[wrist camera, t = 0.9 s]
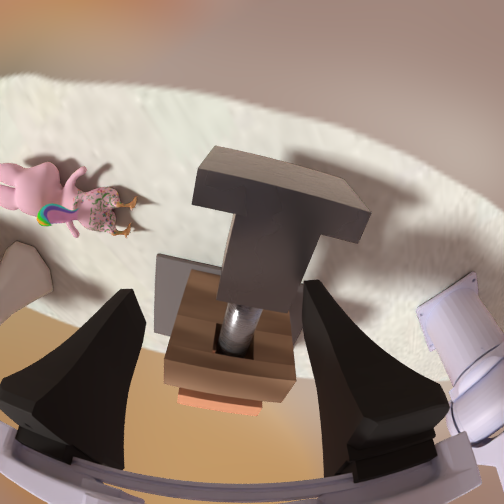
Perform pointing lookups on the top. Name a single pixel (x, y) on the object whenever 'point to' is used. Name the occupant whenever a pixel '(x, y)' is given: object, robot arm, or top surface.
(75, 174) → the pink toy animal
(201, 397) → the spacer
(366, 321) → the top surface
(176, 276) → the mat
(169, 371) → the bracket
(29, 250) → the flask
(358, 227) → the shaft
